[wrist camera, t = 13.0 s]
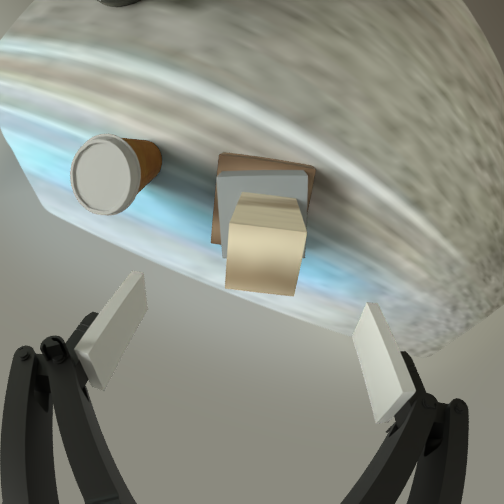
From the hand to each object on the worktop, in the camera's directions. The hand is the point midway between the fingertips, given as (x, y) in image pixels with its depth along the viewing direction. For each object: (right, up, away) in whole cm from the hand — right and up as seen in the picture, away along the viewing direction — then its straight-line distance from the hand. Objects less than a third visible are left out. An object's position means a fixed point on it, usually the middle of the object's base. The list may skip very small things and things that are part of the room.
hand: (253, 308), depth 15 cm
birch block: (+1, +7, +16) cm, 17 cm away
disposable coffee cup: (-16, +17, +21) cm, 31 cm away
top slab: (+1, +9, +19) cm, 21 cm away
